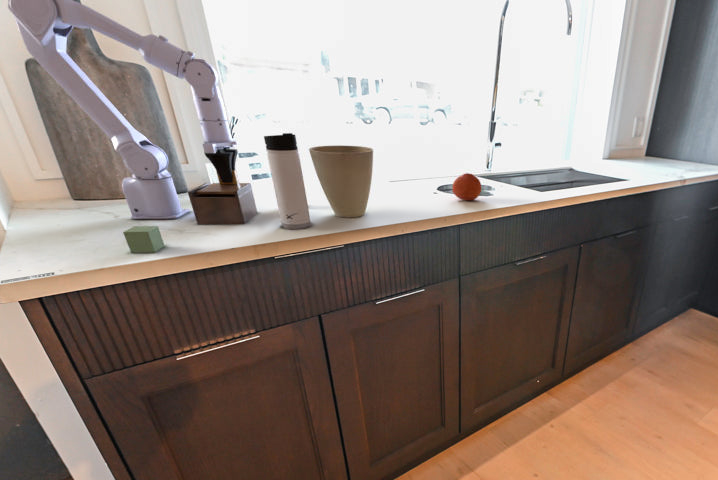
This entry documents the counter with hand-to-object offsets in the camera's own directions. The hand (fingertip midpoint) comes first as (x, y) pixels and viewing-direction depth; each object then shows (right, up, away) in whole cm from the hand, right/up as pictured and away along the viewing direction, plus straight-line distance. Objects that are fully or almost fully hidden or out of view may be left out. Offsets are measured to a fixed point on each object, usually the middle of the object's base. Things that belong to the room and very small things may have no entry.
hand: (229, 181), depth 105 cm
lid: (+1, -3, -3) cm, 4 cm away
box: (+1, -10, -2) cm, 10 cm away
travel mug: (+19, -13, -5) cm, 24 cm away
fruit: (+57, +4, +28) cm, 63 cm away
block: (-1, -22, -23) cm, 32 cm away
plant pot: (+28, -7, +7) cm, 29 cm away
